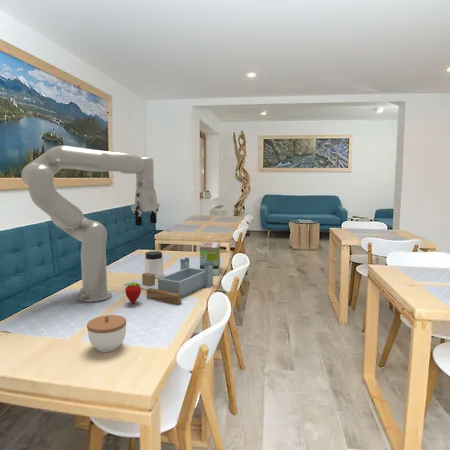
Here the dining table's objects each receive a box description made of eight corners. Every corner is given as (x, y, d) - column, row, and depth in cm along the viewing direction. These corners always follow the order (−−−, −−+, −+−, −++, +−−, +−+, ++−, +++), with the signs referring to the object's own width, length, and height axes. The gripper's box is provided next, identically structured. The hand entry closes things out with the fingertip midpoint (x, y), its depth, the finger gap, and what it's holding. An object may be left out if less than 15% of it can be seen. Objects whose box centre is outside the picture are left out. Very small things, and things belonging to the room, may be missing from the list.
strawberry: (143, 300, 144) (142, 276, 142) (139, 307, 136) (138, 281, 135) (128, 300, 143) (127, 276, 142) (123, 307, 136) (122, 281, 135)
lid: (123, 286, 165) (122, 272, 164) (140, 280, 173) (139, 268, 173) (158, 294, 153) (158, 280, 152) (174, 288, 162) (174, 274, 161)
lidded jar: (130, 338, 109) (129, 309, 108) (121, 356, 99) (120, 323, 97) (95, 339, 109) (93, 309, 108) (82, 356, 98) (80, 324, 97)
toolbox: (183, 300, 144) (183, 272, 143) (154, 294, 151) (153, 267, 150) (213, 285, 164) (212, 260, 163) (185, 280, 171) (185, 257, 170)
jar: (166, 276, 178) (165, 253, 177) (151, 279, 173) (150, 255, 172) (157, 273, 185) (156, 250, 184) (142, 275, 180) (142, 252, 179)
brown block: (177, 306, 138) (177, 296, 138) (147, 298, 146) (146, 289, 146) (181, 304, 140) (181, 294, 140) (150, 297, 148) (150, 287, 148)
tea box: (219, 275, 180) (219, 246, 179) (199, 275, 181) (199, 246, 179) (220, 268, 195) (220, 241, 193) (201, 268, 196) (201, 241, 194)
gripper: (138, 186, 148) (139, 227, 150) (164, 185, 163) (165, 222, 165) (124, 185, 152) (126, 225, 154) (151, 185, 167) (152, 221, 169)
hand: (146, 224), depth 160 cm, fingers open, 9 cm apart
